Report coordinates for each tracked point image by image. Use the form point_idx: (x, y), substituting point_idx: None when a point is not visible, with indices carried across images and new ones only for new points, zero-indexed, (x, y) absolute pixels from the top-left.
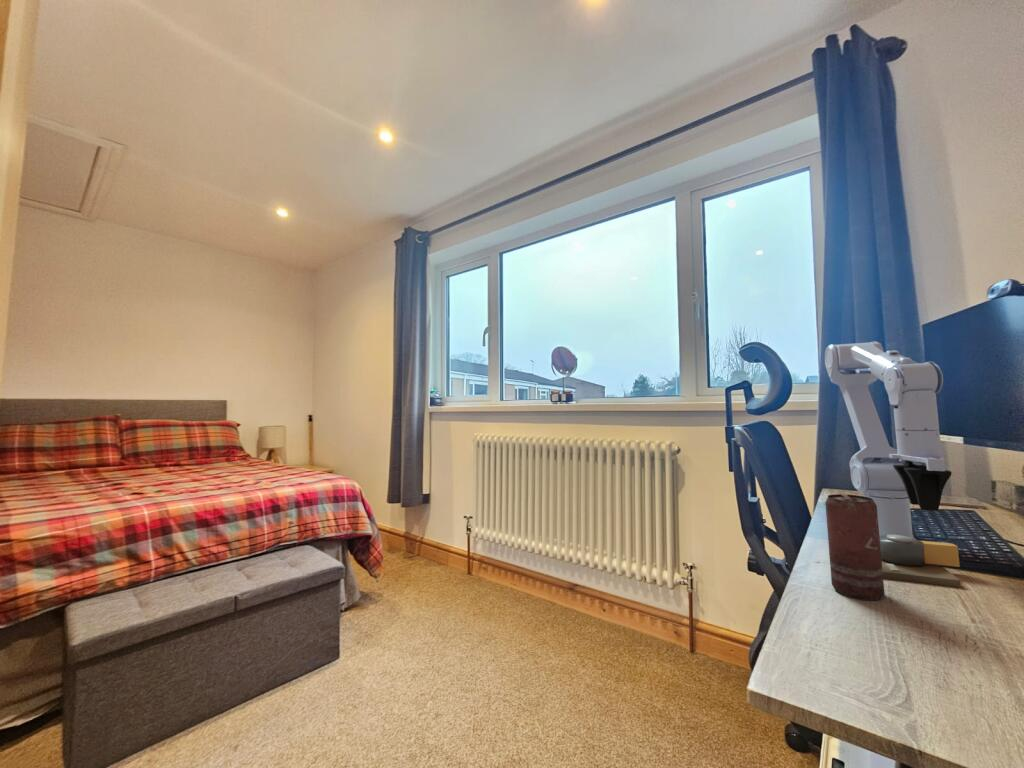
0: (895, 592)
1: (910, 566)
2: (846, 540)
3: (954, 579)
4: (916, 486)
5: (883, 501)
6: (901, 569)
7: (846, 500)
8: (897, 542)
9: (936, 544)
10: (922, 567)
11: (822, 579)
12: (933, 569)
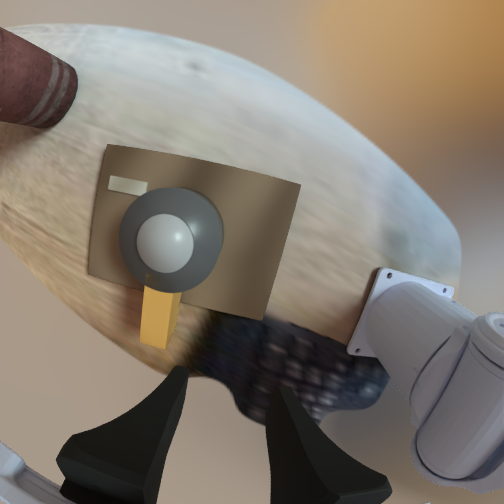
0: (56, 150)
1: None
2: None
3: (90, 267)
4: (126, 412)
5: (424, 351)
6: (121, 200)
7: None
8: (140, 223)
9: (145, 310)
10: None
11: (100, 57)
12: None
